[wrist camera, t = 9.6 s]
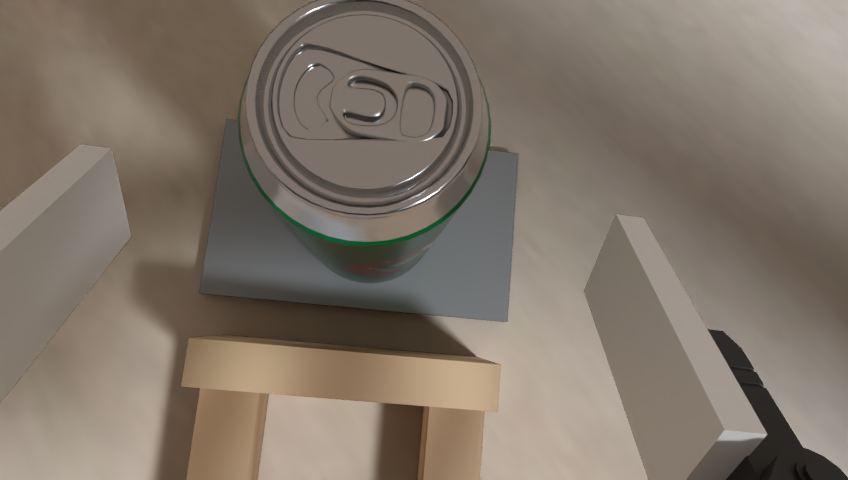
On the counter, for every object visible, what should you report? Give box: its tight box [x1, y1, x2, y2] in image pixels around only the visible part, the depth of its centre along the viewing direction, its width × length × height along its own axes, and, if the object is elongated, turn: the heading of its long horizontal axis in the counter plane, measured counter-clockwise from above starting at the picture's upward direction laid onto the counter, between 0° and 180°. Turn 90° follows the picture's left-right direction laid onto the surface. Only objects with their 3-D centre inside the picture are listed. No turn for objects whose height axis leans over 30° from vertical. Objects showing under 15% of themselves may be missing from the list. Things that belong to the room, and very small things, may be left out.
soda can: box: [238, 0, 491, 283], centre depth 16 cm, size 5×5×12 cm
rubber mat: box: [199, 119, 518, 322], centre depth 22 cm, size 12×7×1 cm, turn 85°
